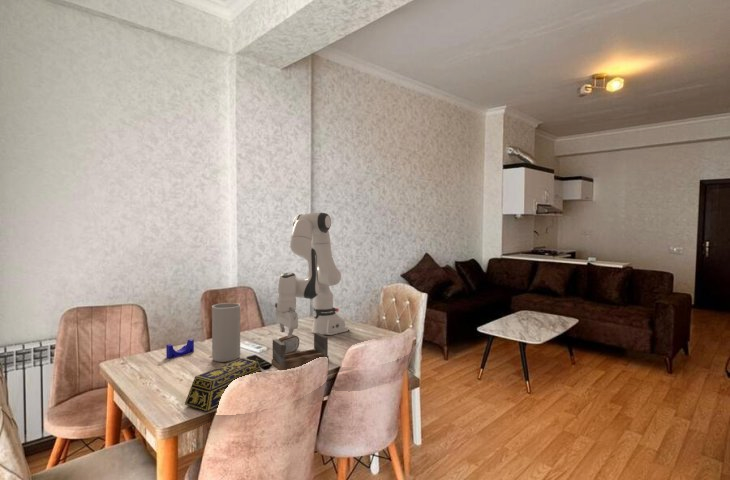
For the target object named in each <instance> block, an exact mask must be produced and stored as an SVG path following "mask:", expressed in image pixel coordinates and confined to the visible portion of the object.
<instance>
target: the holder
mask: <svg viewBox="0 0 730 480" xmlns="http://www.w3.org/2000/svg"><path fill="white" fill-rule="evenodd" d="M278 339H279V338H274V339H272V358H271V365H272V366H274V367H275V368H277V370H279V371H284V370H290V369H294V367H295V368H298V366H299V367H302V366H301V365H303V364H306V363H308V362H310V361H312V360H314V359H316V358H319V357H327V358H328V361H330V359H329V351H328V350H329V349H328V348H329V347H328V343H329V342H328V340H329V337H328V336H327V335H325V334H320V333H318V332H317V333H313V348H312V349H305V350H301V351H294V352H292V353H289V354H285V344H284V343H282V342H281V341H279V340H278ZM289 368H290V369H289Z"/></svg>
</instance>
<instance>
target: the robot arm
mask: <svg viewBox="0 0 730 480" xmlns="http://www.w3.org/2000/svg"><path fill="white" fill-rule="evenodd" d="M292 227H293V228H292V231H291V236H290V241H289V242H290V243H289V247H290V250H291V251H292V253H293V254H295V255H296V256H297V257H300V258H302V259H305V260H306V262H307V264H308V265H307V266H308V270H307V278H299V277H297V275H296V274H295V273H293V272H283V273H282V274H280V276H279V278H278V279H279V280H278V284H277V285H278V287H277V289H278V291H277V292H278V298H277V302H275V303H274V308H275V311H274V312H275V314H274V315H275V321H276V322H277V323H279V325H278V326H279V328H280V332H281V333H286V331H285V330H286V328H288V332H287V336H289V337H292V335H293V333H294V331H295V330H296V329H298V328H299V318H298V317H299V316H298V312H296V310H297V298H304V299H309V300H313V299H314V302H313V306H314V307H313V313H312V314H313V315H312V316H313V323H312V328H311V333H312V334H314V333H317V332H318V333H320V334H322V335H324V336H333V335H336V334H341V333H345V332H348V330H349V331H350V329H349V327H348V326H347V325H346V323H345V319H344V318H343V317H341V316H340V315H339V314H337V313H338V312H339V310H340V309H339V308H337V307H334V295H333V294H334V293H333V292H332V291H331V288H330V286H337V285H338V284H339V283H340V281H341V279H342V274H341V271H340V270H339V269H338V267H337V266H336V263H335V260H334V258H333V255H332V246H331V243H332V242H331V237H330V231H329V230H330V229H331V227H332V219H331V216H330V215H329V214H328V213H326V212H310V213H303V214H302V213H301V214H298V215H297V214H296V216H295V217H294V218H293V221H292ZM285 327H286V328H285Z"/></svg>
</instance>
